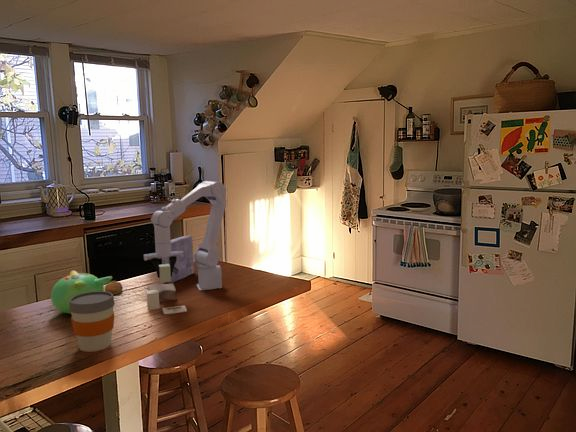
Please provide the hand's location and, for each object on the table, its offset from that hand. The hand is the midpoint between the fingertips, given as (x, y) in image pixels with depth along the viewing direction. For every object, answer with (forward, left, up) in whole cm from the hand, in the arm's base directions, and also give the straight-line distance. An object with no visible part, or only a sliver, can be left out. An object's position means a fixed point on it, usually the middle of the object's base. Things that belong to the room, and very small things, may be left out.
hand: (164, 276), depth 189 cm
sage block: (0, 0, -2) cm, 2 cm away
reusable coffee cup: (+24, +37, -9) cm, 45 cm away
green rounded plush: (+30, +4, -9) cm, 32 cm away
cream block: (+5, +9, -9) cm, 14 cm away
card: (-2, +15, -9) cm, 18 cm away
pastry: (+19, -16, -9) cm, 27 cm away
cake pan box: (-9, -27, -9) cm, 29 cm away
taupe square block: (+1, -2, -9) cm, 9 cm away
